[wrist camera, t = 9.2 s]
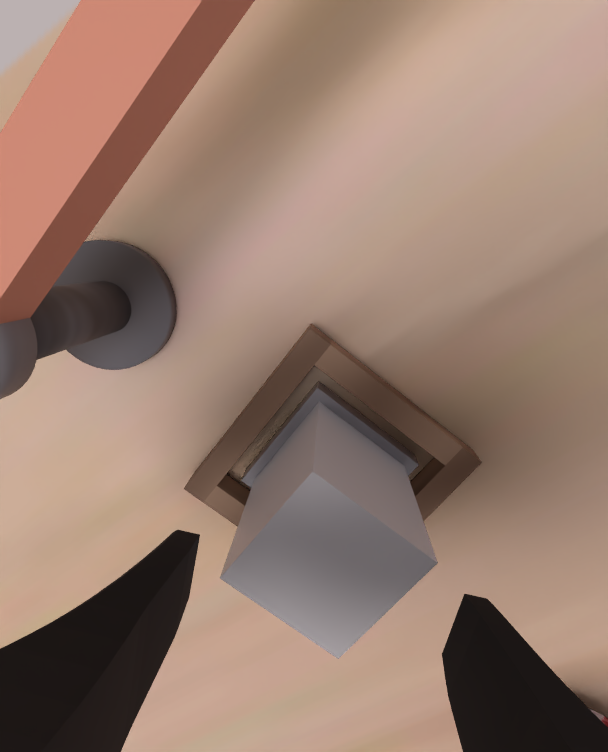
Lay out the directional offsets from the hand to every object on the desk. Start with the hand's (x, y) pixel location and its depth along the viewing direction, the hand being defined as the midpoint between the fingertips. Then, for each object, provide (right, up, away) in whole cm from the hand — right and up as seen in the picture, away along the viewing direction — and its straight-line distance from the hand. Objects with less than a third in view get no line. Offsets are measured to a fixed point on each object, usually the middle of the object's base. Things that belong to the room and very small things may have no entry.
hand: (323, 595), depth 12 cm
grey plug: (+1, +2, +8) cm, 8 cm away
